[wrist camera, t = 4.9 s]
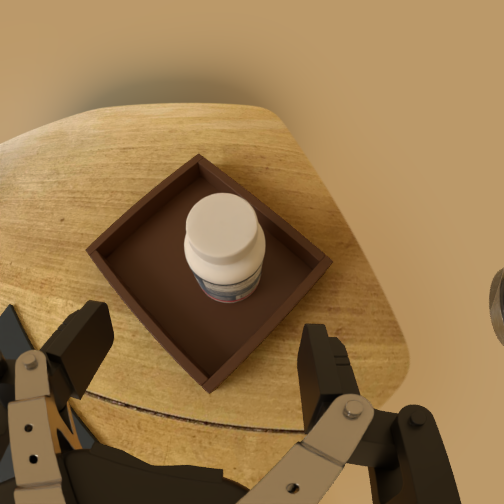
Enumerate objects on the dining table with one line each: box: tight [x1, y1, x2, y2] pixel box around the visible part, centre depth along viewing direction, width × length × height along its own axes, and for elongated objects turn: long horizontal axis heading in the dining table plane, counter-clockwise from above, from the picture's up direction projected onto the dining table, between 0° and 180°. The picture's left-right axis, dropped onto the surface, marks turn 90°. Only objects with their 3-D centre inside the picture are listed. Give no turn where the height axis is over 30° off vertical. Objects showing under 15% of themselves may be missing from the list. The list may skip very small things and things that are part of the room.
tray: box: [86, 154, 333, 394], centre depth 23 cm, size 16×14×2 cm
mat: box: [0, 304, 99, 483], centre depth 17 cm, size 18×20×1 cm
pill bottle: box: [184, 193, 265, 303], centre depth 20 cm, size 5×5×9 cm
